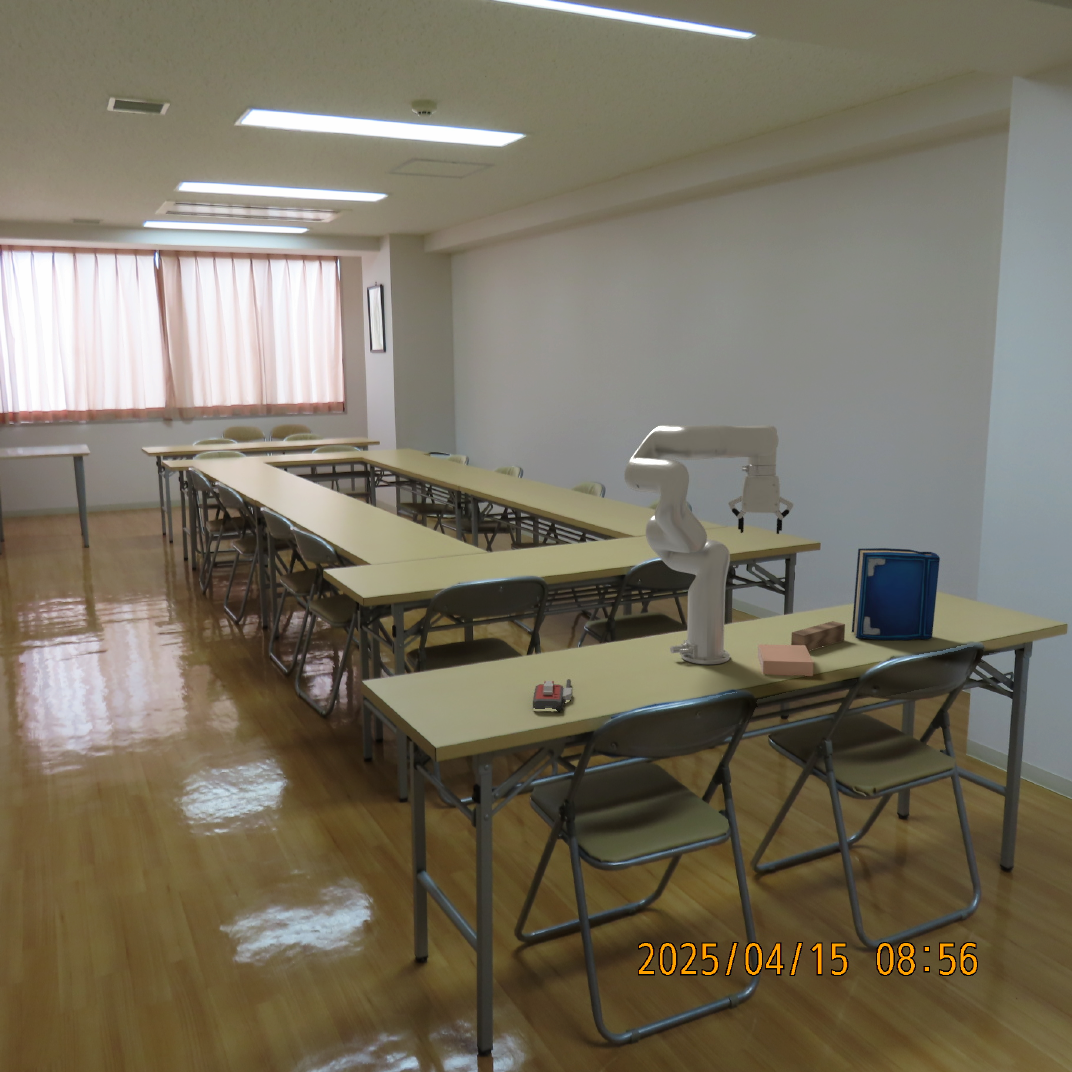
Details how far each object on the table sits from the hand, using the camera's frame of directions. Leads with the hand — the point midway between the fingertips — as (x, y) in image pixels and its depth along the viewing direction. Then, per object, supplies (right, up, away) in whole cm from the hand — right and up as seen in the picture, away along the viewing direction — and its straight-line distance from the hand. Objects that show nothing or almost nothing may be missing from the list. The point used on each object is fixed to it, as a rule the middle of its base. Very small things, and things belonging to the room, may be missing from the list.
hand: (759, 532), depth 255 cm
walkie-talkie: (-58, -39, -39) cm, 80 cm away
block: (+16, -31, -1) cm, 35 cm away
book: (+39, -30, +5) cm, 49 cm away
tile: (+3, -31, -12) cm, 34 cm away
